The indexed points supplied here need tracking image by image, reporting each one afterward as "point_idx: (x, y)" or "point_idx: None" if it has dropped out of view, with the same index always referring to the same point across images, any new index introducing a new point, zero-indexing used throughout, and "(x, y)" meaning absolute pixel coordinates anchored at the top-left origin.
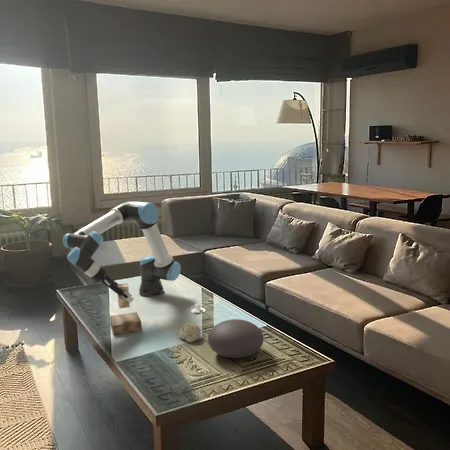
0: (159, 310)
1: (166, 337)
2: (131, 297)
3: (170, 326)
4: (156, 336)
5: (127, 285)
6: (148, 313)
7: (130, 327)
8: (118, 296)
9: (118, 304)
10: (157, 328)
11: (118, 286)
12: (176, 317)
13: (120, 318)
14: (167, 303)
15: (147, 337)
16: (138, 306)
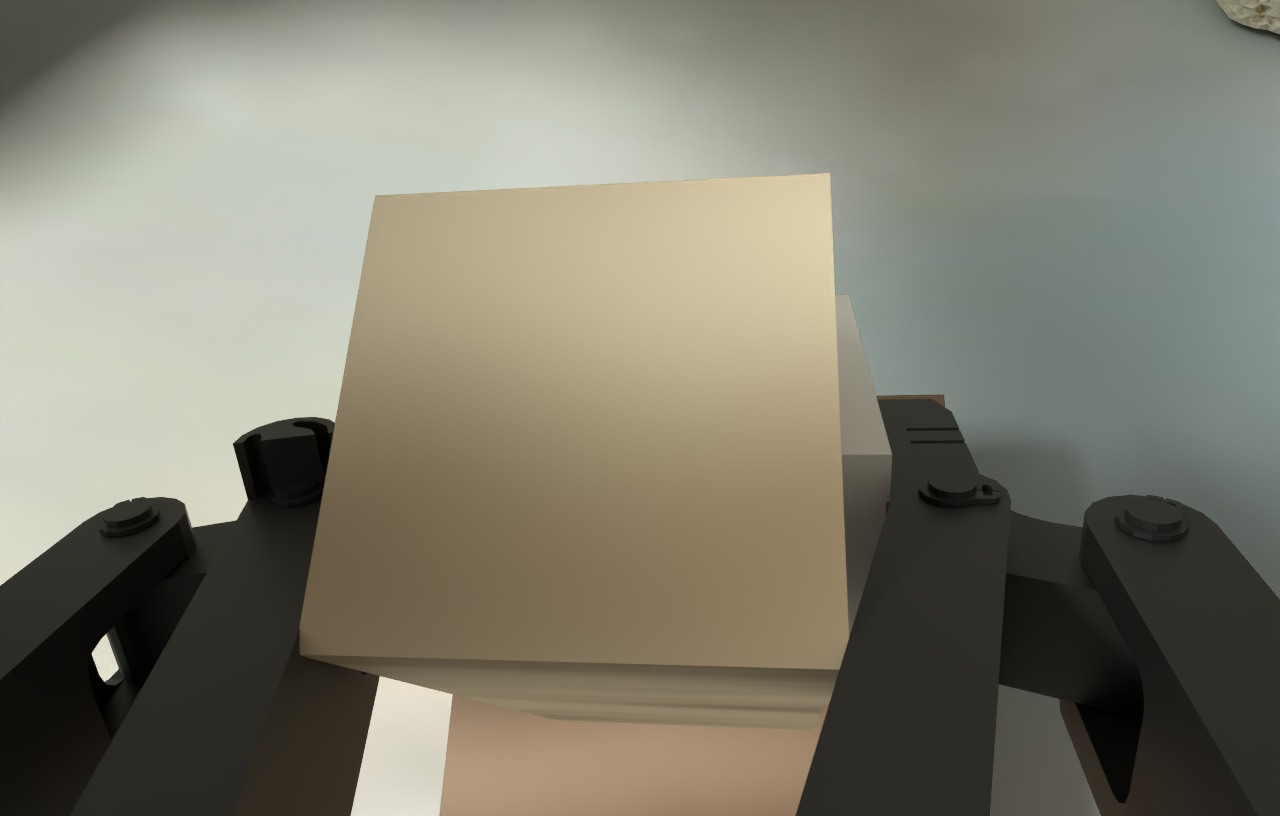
0: (315, 146)
1: (1258, 192)
2: (852, 327)
3: (893, 103)
4: (1189, 300)
5: (685, 199)
6: (337, 276)
7: None
8: (688, 706)
9: (597, 720)
10: (903, 249)
11: (657, 630)
12: (634, 11)
13: None
14: (156, 41)
15: (1195, 415)
16: (26, 356)
